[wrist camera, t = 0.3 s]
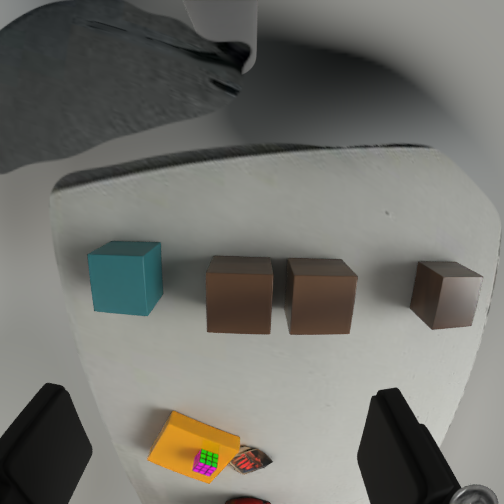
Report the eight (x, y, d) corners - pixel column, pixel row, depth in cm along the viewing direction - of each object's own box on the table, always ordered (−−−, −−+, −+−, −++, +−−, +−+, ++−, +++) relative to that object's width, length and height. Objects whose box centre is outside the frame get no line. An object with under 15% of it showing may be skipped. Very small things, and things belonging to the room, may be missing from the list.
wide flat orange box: (211, 471, 33) (207, 496, 29) (150, 447, 32) (142, 472, 28) (240, 436, 31) (239, 464, 27) (172, 409, 31) (164, 436, 26)
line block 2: (287, 257, 26) (294, 275, 22) (341, 259, 26) (358, 276, 22) (284, 309, 28) (289, 335, 23) (336, 309, 28) (349, 334, 23)
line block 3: (417, 261, 27) (443, 276, 22) (456, 261, 27) (483, 276, 22) (409, 308, 28) (431, 329, 23) (447, 306, 28) (471, 326, 23)
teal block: (111, 240, 26) (86, 254, 22) (160, 242, 26) (143, 256, 22) (115, 291, 27) (94, 311, 23) (163, 294, 27) (147, 316, 23)
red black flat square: (276, 458, 32) (276, 461, 32) (245, 475, 33) (245, 478, 33) (248, 441, 31) (248, 444, 31) (217, 459, 32) (217, 462, 32)
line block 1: (213, 255, 26) (205, 272, 22) (270, 257, 26) (273, 274, 22) (213, 307, 28) (206, 332, 23) (267, 309, 28) (270, 334, 23)
